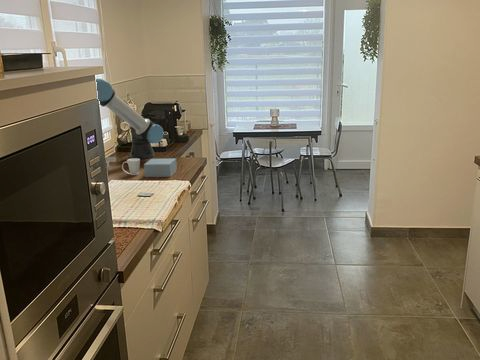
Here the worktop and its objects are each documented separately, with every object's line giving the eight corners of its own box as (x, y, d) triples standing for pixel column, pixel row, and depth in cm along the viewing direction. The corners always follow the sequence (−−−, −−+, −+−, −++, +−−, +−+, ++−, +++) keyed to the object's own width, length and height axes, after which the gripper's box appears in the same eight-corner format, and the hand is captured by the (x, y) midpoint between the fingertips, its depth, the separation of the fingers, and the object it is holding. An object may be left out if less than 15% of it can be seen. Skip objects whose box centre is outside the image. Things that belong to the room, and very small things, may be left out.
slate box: (152, 171, 254) (151, 158, 252) (176, 170, 253) (176, 158, 251) (144, 177, 240) (143, 164, 238) (170, 177, 239) (169, 164, 237)
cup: (139, 175, 243) (138, 160, 241) (121, 176, 243) (119, 161, 241) (142, 172, 250) (141, 158, 248) (124, 172, 250) (123, 158, 248)
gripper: (81, 164, 258) (118, 163, 258) (65, 174, 233) (106, 173, 234) (80, 151, 256) (117, 150, 256) (63, 160, 232) (105, 159, 232)
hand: (112, 161), depth 245 cm, fingers open, 13 cm apart
